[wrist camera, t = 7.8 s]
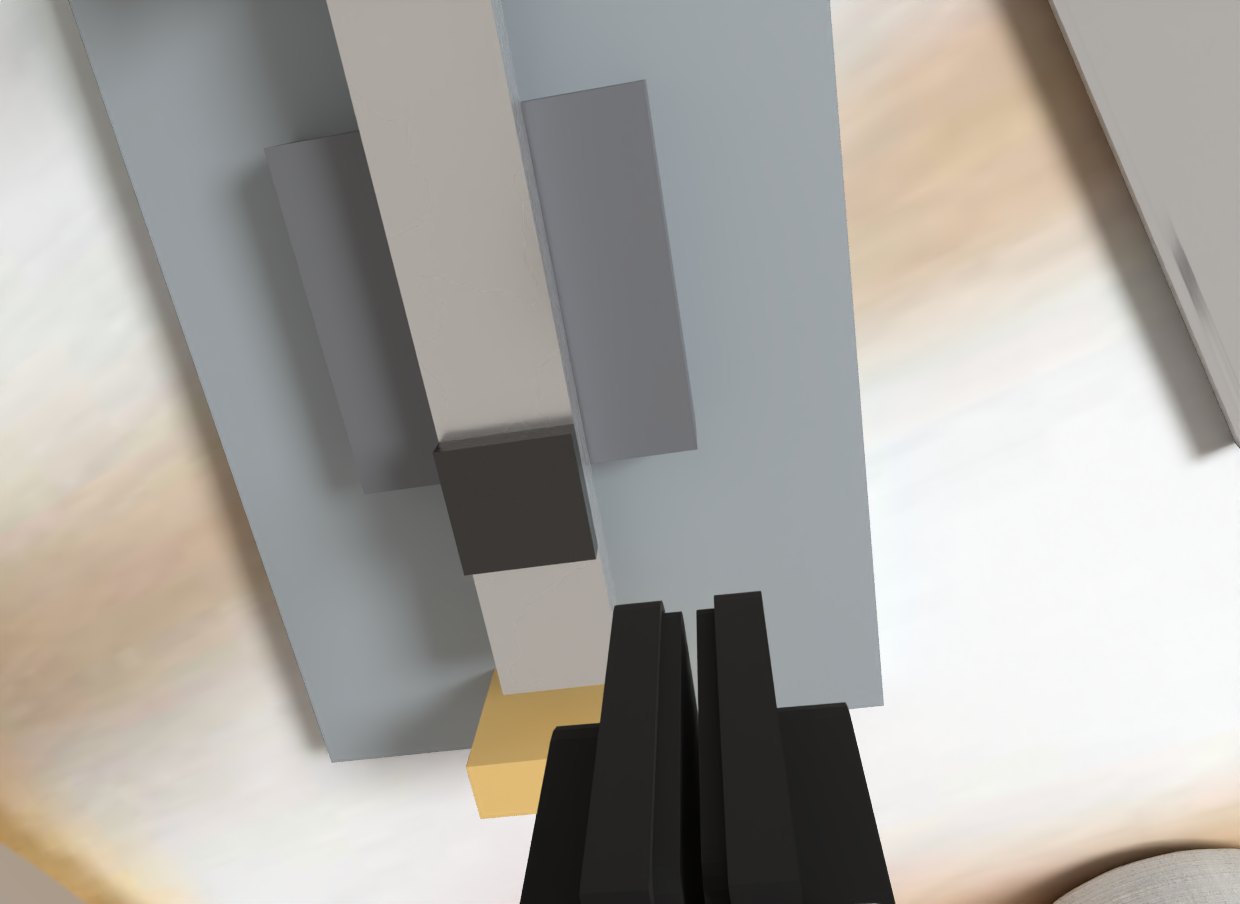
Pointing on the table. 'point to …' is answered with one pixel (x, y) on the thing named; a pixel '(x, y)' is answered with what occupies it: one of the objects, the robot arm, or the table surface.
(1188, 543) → the table surface
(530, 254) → the clamp bar
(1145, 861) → the planter
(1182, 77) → the gadget
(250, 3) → the clamp base
